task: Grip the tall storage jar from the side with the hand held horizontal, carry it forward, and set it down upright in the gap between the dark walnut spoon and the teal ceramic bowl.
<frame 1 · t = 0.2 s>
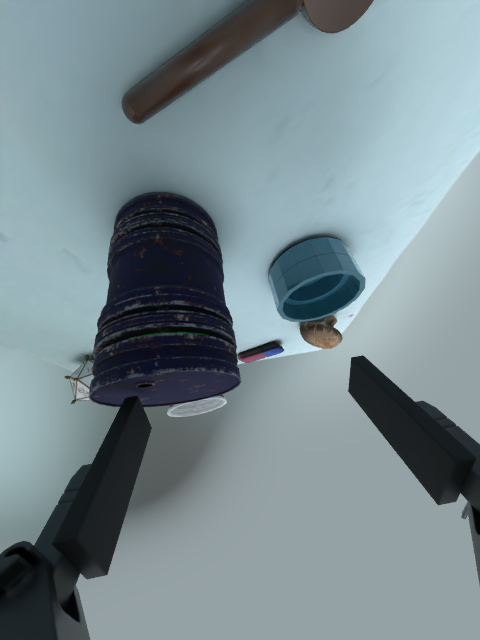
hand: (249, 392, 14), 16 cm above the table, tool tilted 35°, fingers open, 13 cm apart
game die: (98, 359, 43), on the table
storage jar: (169, 238, 22), on the table, touching gripper
mushroom: (314, 319, 44), on the table
spoon: (250, 19, 12), on the table
plastic cup: (193, 349, 47), on the table
bowl: (305, 266, 29), on the table
eraser: (258, 348, 52), on the table
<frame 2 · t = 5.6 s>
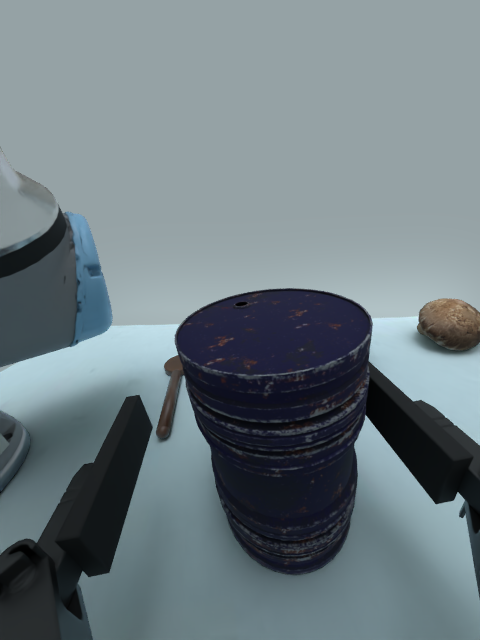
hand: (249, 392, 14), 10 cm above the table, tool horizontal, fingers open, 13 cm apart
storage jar: (283, 488, 18), on the table, touching gripper
mushroom: (445, 342, 32), on the table
spoon: (175, 387, 31), on the table
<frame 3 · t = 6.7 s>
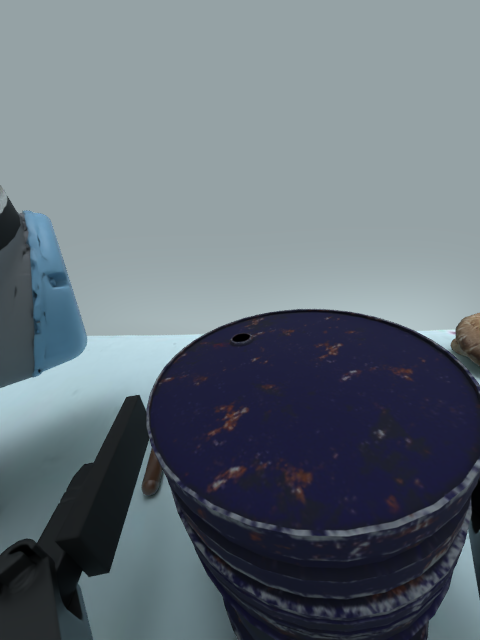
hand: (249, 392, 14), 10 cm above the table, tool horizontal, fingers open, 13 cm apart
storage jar: (310, 570, 14), on the table, touching gripper
spoon: (169, 418, 26), on the table
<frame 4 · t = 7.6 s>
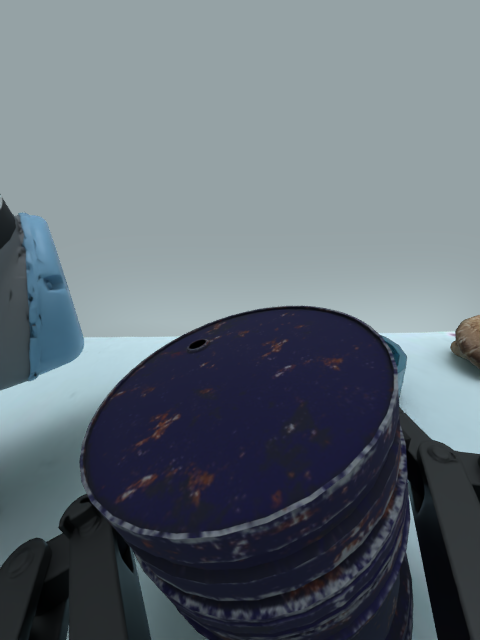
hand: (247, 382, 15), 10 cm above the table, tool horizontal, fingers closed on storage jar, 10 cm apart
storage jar: (308, 572, 13), point 1 cm above the table, touching gripper
bowl: (345, 388, 27), on the table
when the fingers open (10 cm above the table, at t = 14.5 s): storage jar stays where it is, on the table.
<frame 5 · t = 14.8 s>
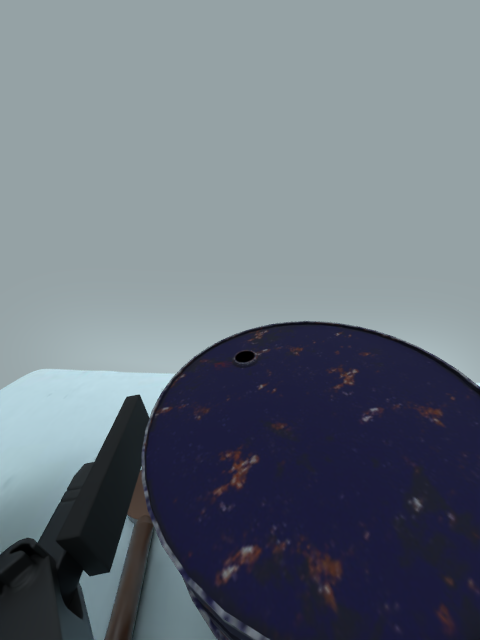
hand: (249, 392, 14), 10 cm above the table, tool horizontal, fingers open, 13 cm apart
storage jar: (311, 580, 13), on the table, touching gripper
spoon: (138, 570, 15), on the table
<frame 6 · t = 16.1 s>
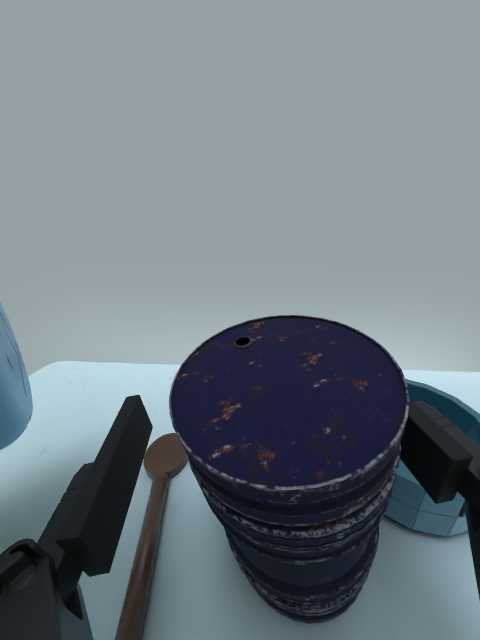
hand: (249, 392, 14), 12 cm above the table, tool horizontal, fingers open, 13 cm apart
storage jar: (296, 518, 17), on the table, touching gripper
spoon: (158, 510, 19), on the table
bowl: (398, 464, 20), on the table
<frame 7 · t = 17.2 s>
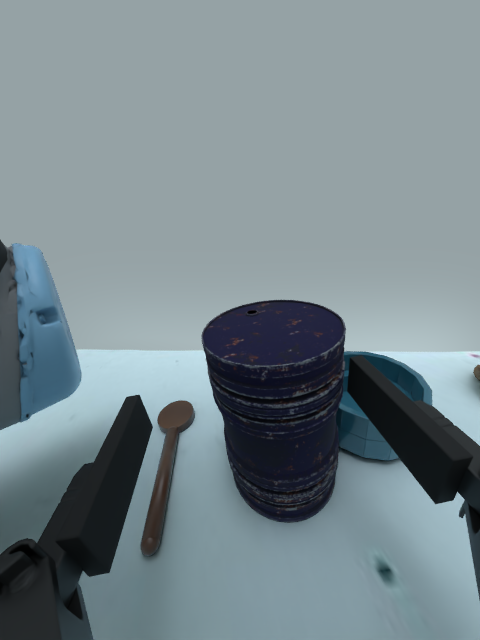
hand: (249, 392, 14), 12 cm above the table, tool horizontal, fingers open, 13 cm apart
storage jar: (281, 462, 22), on the table
spoon: (171, 453, 24), on the table
bowl: (361, 418, 25), on the table
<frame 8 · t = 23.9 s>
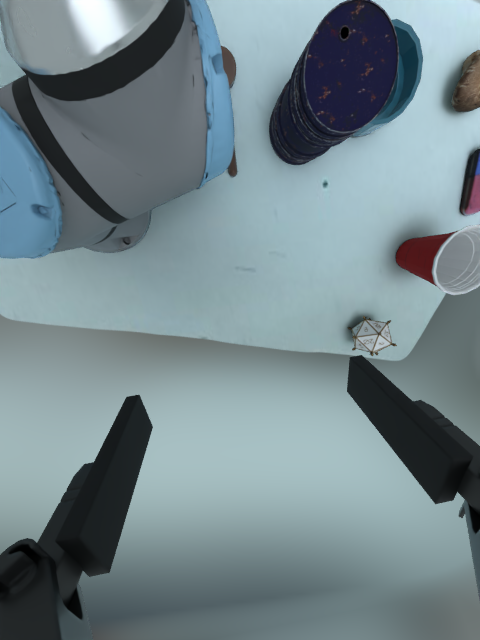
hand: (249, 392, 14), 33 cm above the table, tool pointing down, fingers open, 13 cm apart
game die: (359, 327, 52), on the table
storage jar: (298, 129, 36), on the table
mushroom: (464, 89, 36), on the table
spoon: (225, 113, 34), on the table
plastic cup: (407, 252, 46), on the table
bowl: (360, 96, 35), on the table
eraser: (471, 182, 42), on the table
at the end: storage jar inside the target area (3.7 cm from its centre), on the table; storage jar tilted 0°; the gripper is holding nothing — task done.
